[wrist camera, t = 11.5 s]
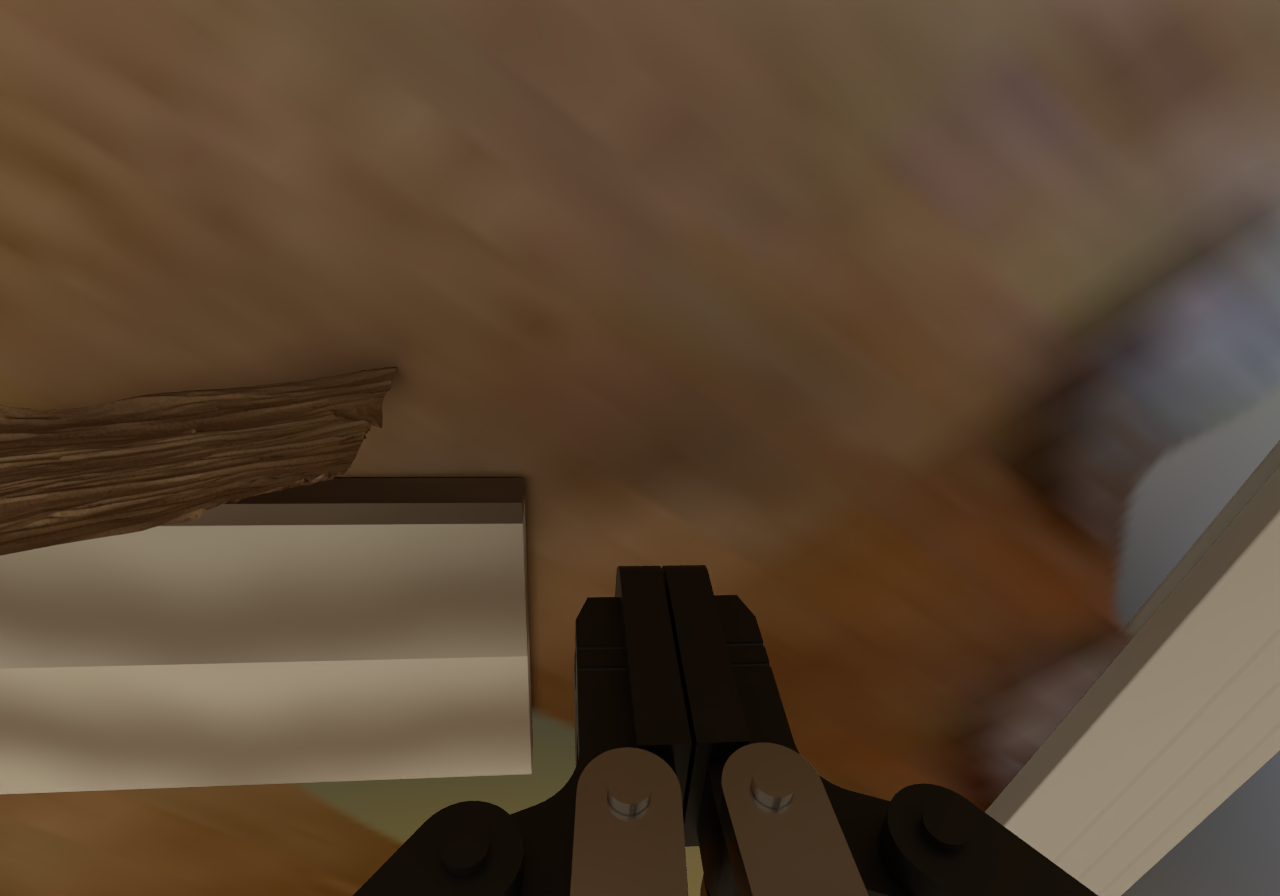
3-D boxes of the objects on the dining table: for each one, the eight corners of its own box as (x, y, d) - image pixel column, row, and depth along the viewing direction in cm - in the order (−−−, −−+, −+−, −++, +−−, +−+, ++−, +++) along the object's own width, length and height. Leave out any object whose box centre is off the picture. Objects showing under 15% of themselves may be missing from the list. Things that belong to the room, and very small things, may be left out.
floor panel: (-420, 478, 16) (-474, 507, 16) (524, 478, 18) (522, 502, 17) (-179, 769, 22) (-210, 802, 21) (532, 745, 24) (531, 773, 23)
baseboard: (1819, 245, 18) (1523, 129, 16) (2006, 287, 16) (1686, 157, 14) (1104, 906, 33) (901, 888, 31) (1145, 978, 31) (928, 965, 29)
